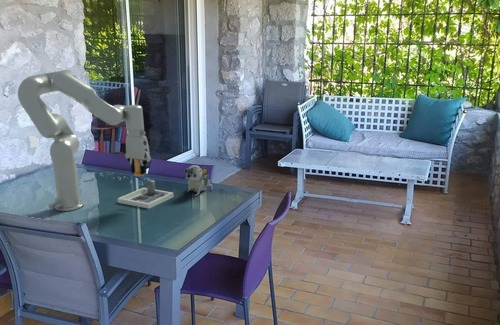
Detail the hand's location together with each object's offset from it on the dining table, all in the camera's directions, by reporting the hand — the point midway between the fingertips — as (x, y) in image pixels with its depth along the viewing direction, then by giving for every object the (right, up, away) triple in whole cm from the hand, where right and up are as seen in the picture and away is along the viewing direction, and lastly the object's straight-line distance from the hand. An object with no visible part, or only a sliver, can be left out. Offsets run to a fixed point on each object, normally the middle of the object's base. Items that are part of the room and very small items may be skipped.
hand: (139, 172), depth 220 cm
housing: (+2, -14, +7) cm, 15 cm away
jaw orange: (0, -1, 0) cm, 1 cm away
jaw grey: (+4, -12, +10) cm, 16 cm away
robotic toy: (+25, -11, +18) cm, 33 cm away
